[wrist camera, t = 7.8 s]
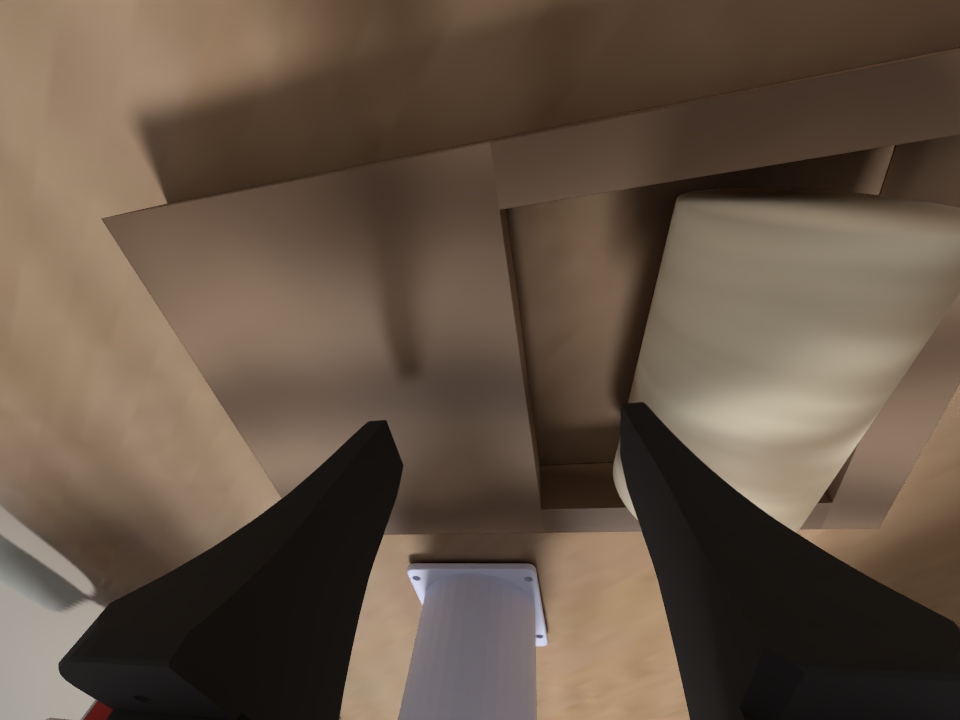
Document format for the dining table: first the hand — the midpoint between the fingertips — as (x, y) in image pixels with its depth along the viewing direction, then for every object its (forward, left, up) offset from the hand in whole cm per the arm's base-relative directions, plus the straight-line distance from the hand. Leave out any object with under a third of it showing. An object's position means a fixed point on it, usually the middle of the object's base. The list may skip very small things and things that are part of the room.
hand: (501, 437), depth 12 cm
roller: (0, -7, -2) cm, 8 cm away
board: (0, -1, -5) cm, 5 cm away
